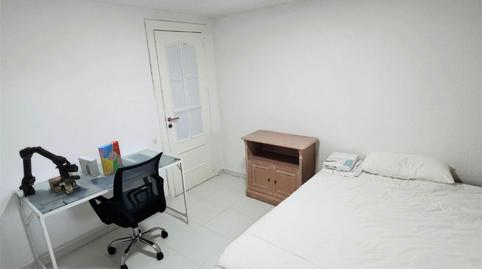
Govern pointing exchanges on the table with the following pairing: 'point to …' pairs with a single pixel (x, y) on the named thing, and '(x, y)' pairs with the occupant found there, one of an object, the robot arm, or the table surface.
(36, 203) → the table surface
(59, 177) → the brown storage crate
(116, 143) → the game box
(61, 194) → the pad
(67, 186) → the block
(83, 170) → the skincare box
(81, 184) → the table surface
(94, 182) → the table surface
